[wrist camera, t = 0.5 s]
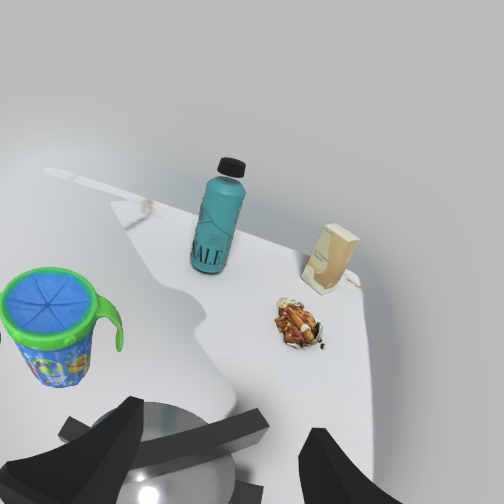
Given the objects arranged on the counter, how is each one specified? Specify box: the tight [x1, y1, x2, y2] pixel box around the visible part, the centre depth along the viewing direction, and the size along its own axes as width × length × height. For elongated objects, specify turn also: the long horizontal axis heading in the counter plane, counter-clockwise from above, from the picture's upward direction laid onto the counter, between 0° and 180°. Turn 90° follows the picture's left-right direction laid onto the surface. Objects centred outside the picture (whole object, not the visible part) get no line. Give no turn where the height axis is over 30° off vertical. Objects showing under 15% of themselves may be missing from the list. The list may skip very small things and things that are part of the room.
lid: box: [89, 402, 270, 504], centre depth 18 cm, size 18×13×4 cm
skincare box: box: [301, 223, 360, 295], centre depth 58 cm, size 6×4×12 cm
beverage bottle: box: [190, 157, 246, 273], centre depth 50 cm, size 6×7×20 cm
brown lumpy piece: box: [274, 298, 326, 350], centre depth 48 cm, size 7×12×4 cm, turn 16°
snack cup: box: [0, 267, 123, 388], centre depth 26 cm, size 16×10×10 cm
